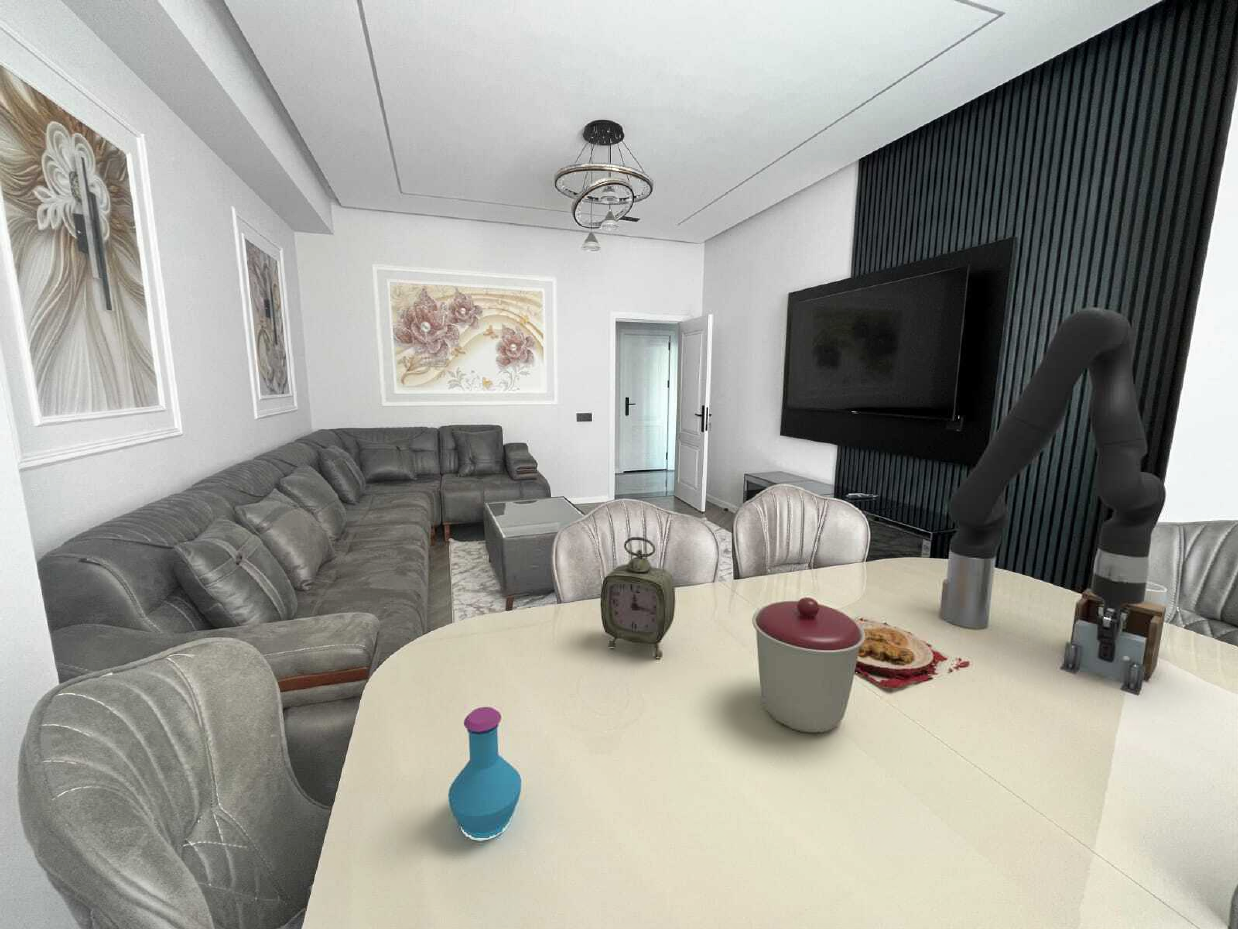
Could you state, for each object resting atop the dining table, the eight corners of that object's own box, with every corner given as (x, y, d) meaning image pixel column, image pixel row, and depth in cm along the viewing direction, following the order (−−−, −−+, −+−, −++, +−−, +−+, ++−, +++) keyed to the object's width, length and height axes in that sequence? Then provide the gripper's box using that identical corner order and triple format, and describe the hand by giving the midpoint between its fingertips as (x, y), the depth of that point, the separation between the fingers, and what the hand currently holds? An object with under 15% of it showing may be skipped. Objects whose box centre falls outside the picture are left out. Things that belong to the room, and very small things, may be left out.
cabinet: (1068, 656, 110) (1076, 598, 108) (1079, 643, 115) (1087, 588, 113) (1148, 681, 100) (1158, 618, 98) (1156, 666, 106) (1166, 606, 104)
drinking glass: (1165, 660, 108) (1177, 592, 106) (1127, 657, 110) (1138, 589, 107) (1140, 645, 115) (1151, 580, 113) (1105, 641, 116) (1114, 578, 114)
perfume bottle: (458, 794, 72) (453, 695, 70) (525, 790, 73) (522, 692, 71) (441, 853, 63) (435, 741, 61) (518, 847, 64) (515, 737, 62)
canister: (853, 694, 96) (861, 586, 93) (864, 760, 79) (875, 630, 76) (752, 676, 102) (757, 574, 99) (743, 734, 85) (748, 613, 82)
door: (1067, 666, 106) (1073, 625, 105) (1072, 660, 108) (1078, 619, 107) (1135, 688, 98) (1142, 644, 97) (1139, 681, 101) (1146, 638, 99)
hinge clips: (1060, 669, 105) (1063, 645, 104) (1063, 664, 107) (1067, 641, 106) (1138, 695, 96) (1142, 670, 95) (1141, 690, 98) (1145, 665, 97)
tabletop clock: (600, 650, 112) (600, 538, 108) (616, 632, 120) (616, 528, 116) (664, 664, 106) (666, 546, 103) (676, 644, 115) (679, 535, 111)
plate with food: (888, 698, 96) (890, 681, 96) (787, 633, 120) (788, 619, 119) (971, 670, 106) (973, 654, 106) (862, 616, 130) (864, 602, 129)
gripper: (1102, 562, 108) (1091, 639, 110) (1085, 576, 99) (1073, 660, 102) (1153, 571, 102) (1140, 653, 104) (1139, 588, 93) (1126, 677, 96)
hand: (1107, 656), depth 103 cm, fingers open, 3 cm apart
